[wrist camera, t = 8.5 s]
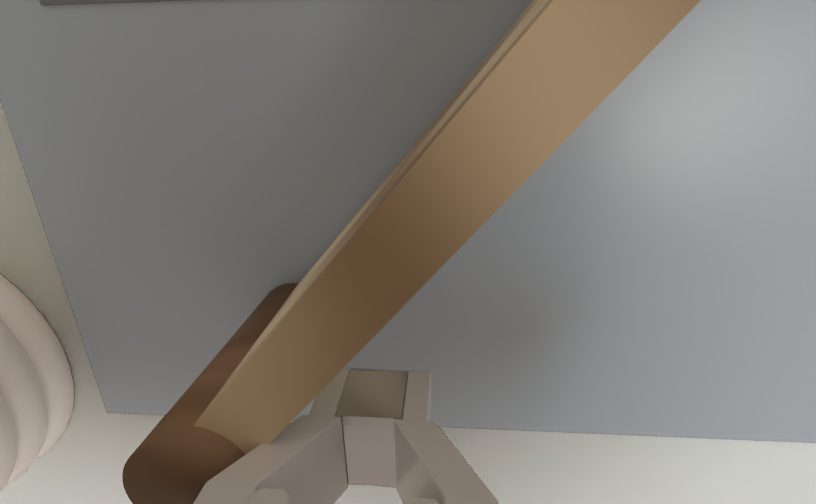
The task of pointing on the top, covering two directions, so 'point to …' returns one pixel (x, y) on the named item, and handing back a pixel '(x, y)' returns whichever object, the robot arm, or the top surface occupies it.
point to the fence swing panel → (401, 234)
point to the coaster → (29, 385)
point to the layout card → (483, 252)
